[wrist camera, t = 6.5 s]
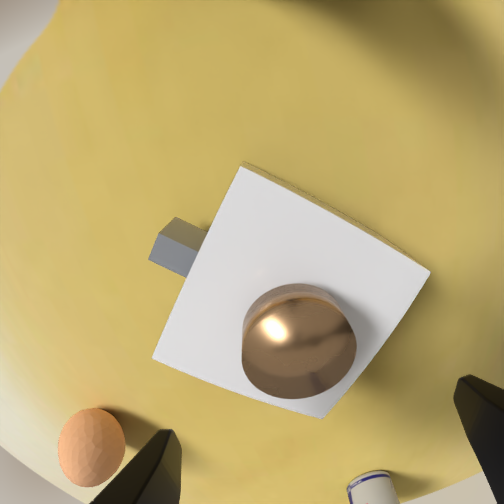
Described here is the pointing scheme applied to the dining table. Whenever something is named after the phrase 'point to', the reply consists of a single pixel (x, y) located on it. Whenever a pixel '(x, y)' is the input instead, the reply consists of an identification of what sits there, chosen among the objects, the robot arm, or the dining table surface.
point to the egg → (91, 447)
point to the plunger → (296, 342)
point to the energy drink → (372, 489)
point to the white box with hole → (276, 280)
